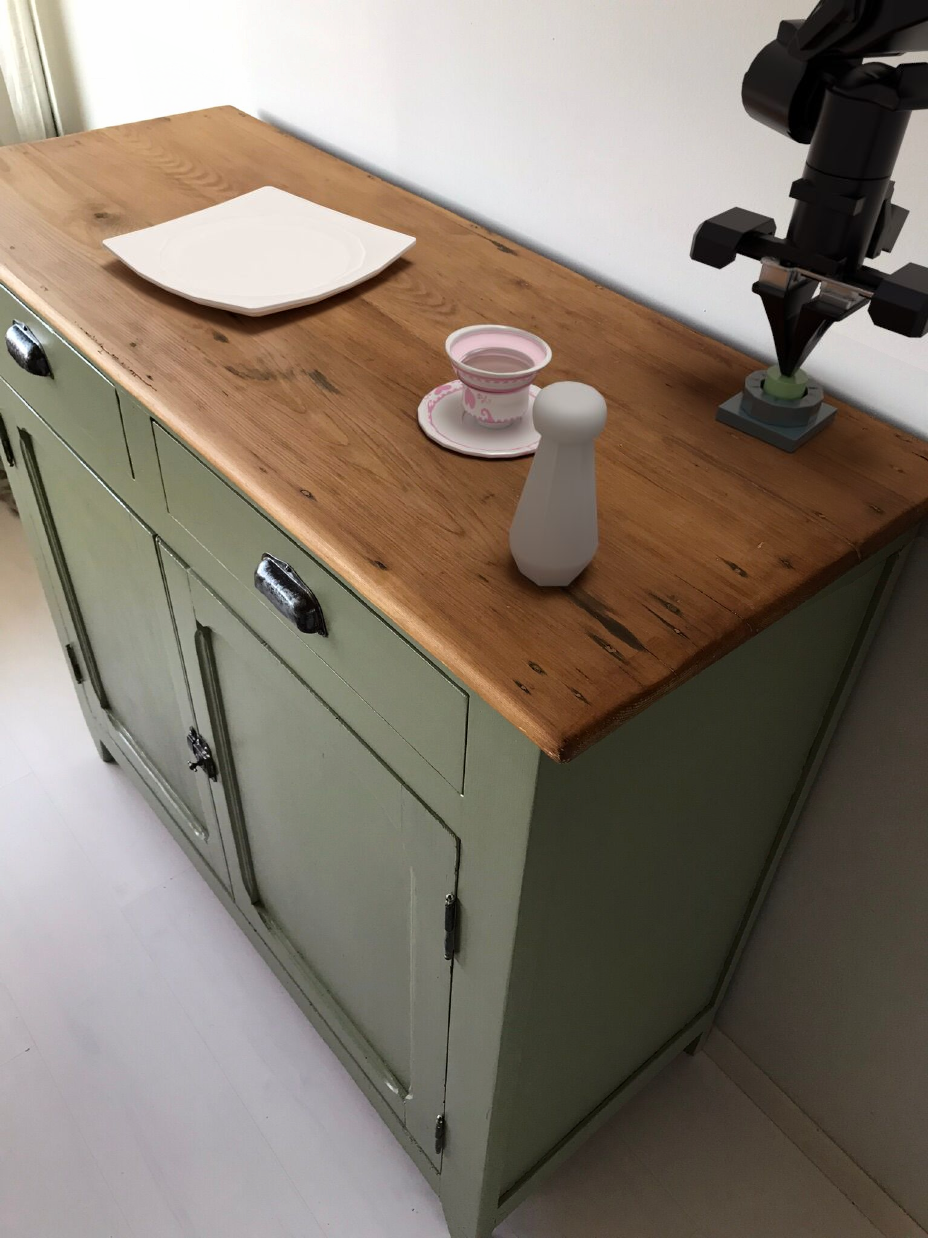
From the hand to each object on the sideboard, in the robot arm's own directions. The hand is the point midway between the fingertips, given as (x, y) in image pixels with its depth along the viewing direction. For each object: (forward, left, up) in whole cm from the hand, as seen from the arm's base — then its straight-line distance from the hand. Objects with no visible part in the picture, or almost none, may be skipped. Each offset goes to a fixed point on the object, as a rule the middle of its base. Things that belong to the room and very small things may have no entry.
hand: (788, 374), depth 76 cm
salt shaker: (+1, +28, -4) cm, 28 cm away
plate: (+52, +12, -4) cm, 54 cm away
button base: (0, 0, -4) cm, 4 cm away
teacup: (+16, +17, -4) cm, 24 cm away
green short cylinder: (0, 0, -2) cm, 2 cm away
